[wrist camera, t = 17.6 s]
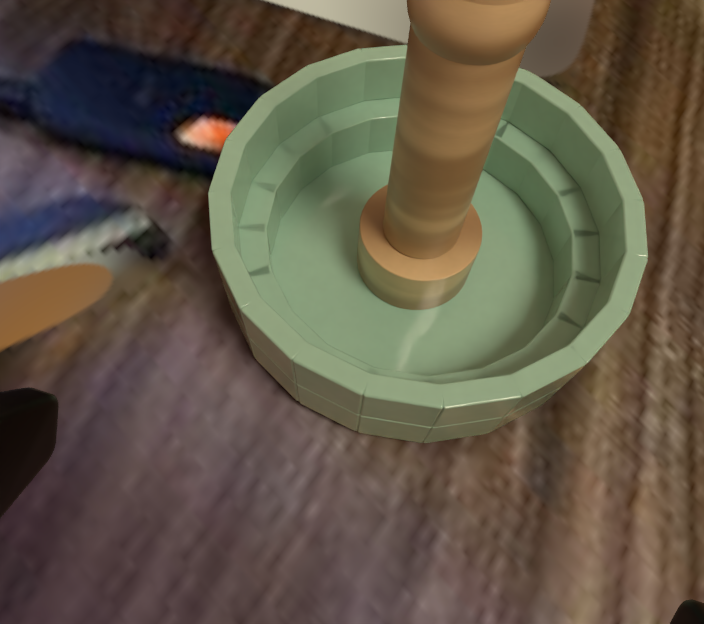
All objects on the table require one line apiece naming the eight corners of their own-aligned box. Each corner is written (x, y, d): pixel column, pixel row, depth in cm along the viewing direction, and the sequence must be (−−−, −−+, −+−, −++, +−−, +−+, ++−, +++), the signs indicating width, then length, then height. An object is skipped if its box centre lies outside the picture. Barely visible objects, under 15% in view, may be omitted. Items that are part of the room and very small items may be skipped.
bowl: (425, 536, 21) (451, 518, 16) (156, 262, 25) (118, 189, 21) (660, 270, 26) (729, 201, 22) (401, 82, 31) (414, -7, 26)
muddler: (471, 313, 24) (625, 2, 12) (354, 307, 24) (380, -14, 12) (467, 217, 26) (593, -136, 14) (359, 210, 26) (386, -150, 14)
